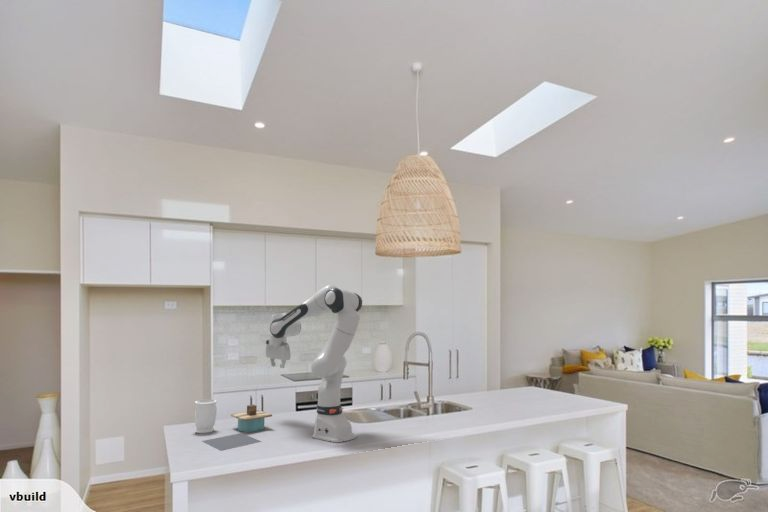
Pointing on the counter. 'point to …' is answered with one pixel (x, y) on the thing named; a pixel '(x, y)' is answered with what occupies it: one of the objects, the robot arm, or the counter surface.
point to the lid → (251, 414)
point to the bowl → (251, 425)
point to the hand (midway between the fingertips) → (277, 367)
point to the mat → (231, 441)
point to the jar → (205, 415)
